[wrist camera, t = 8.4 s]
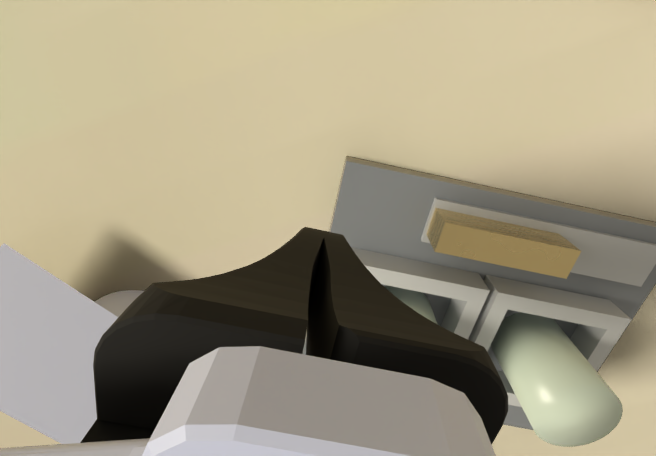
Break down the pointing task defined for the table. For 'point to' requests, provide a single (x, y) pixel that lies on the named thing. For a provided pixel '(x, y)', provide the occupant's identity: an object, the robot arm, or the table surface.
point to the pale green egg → (554, 382)
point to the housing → (491, 279)
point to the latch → (501, 243)
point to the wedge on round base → (50, 347)
